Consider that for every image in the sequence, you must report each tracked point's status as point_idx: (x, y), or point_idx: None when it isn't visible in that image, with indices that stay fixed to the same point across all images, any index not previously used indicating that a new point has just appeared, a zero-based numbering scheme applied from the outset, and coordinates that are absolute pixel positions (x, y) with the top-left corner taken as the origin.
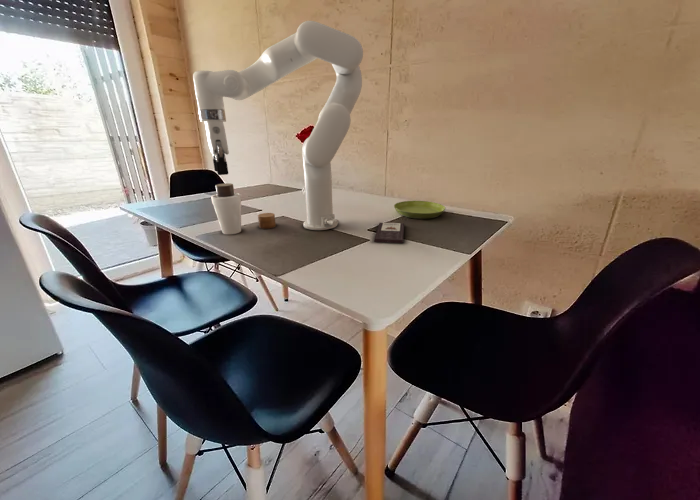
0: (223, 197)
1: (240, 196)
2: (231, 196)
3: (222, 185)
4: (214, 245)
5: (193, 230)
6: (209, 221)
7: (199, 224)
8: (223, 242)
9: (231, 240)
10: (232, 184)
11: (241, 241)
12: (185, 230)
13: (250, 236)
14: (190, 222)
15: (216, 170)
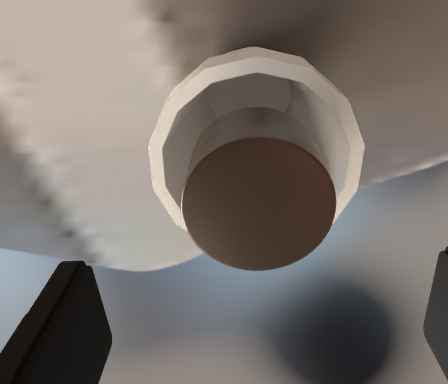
0: (172, 171)
1: (279, 57)
2: (178, 119)
3: (289, 225)
4: (401, 168)
5: (159, 235)
6: (35, 179)
7: (75, 216)
8: (386, 135)
9: (380, 103)
10: (283, 144)
11: (424, 61)
12: (148, 258)
13: (376, 10)
14: (33, 246)
15: (108, 335)
